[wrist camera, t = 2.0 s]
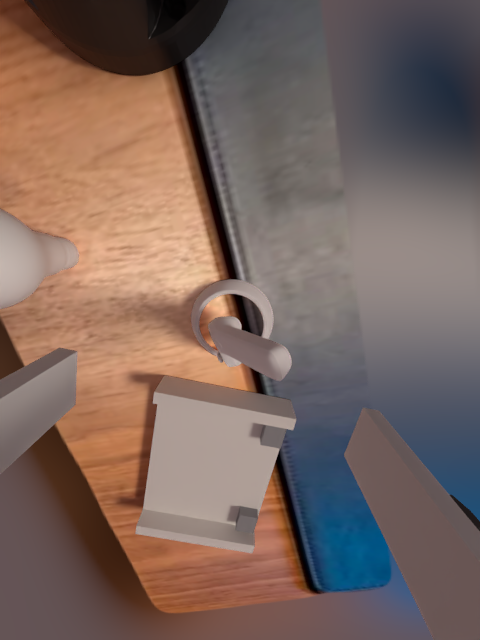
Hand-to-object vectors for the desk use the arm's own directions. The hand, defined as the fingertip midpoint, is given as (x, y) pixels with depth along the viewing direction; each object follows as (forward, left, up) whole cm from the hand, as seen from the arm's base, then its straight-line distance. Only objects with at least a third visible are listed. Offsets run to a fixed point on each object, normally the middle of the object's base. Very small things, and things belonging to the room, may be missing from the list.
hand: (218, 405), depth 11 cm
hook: (0, 0, -13) cm, 13 cm away
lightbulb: (-3, -15, -13) cm, 20 cm away
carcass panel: (+16, +1, -12) cm, 20 cm away
